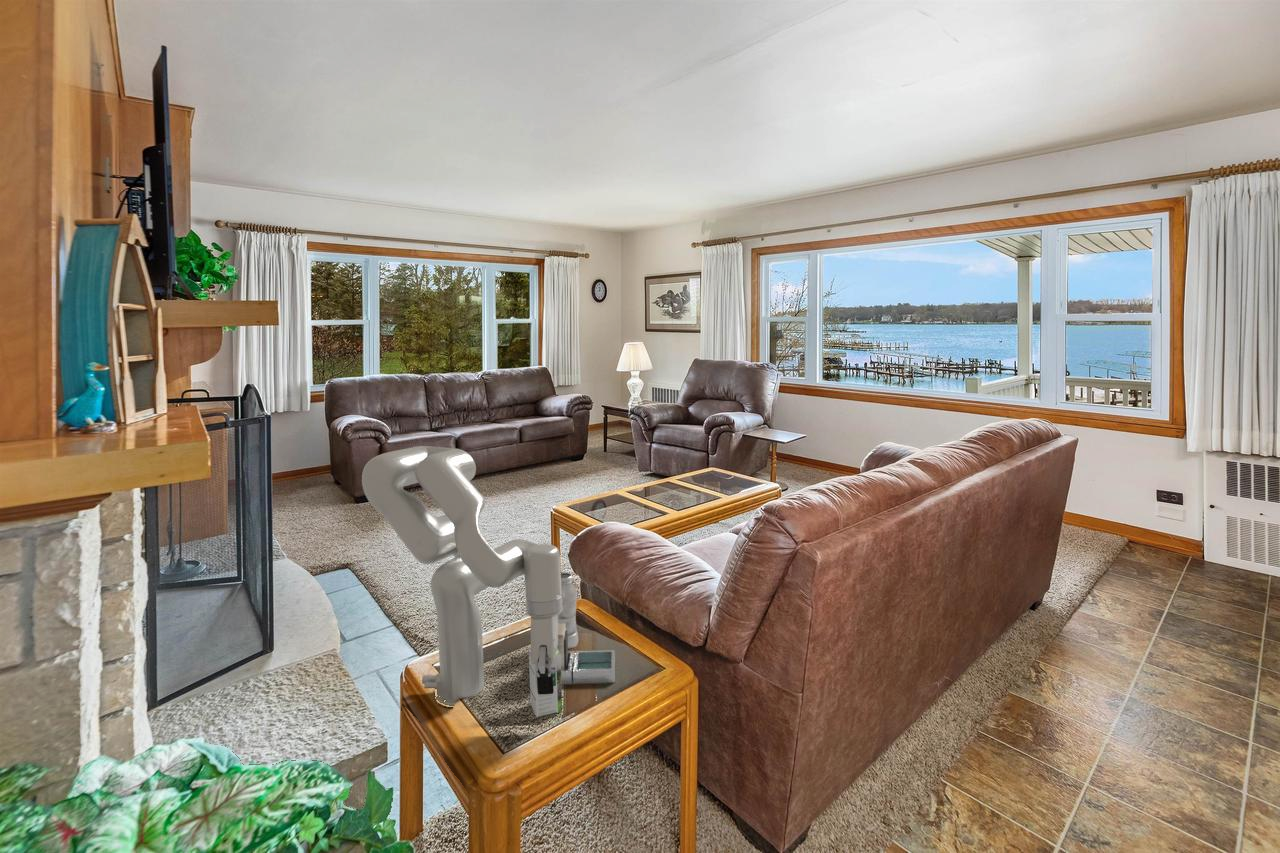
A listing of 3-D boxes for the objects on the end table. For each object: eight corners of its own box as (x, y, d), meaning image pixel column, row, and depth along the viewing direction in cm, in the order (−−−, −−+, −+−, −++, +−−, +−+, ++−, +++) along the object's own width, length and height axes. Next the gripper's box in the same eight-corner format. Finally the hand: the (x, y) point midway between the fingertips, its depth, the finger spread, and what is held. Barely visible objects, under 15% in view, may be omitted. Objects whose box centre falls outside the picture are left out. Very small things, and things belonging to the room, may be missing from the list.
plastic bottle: (580, 643, 164) (579, 571, 162) (575, 655, 157) (574, 580, 155) (557, 642, 165) (555, 570, 162) (551, 654, 158) (549, 579, 155)
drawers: (528, 691, 141) (528, 672, 140) (534, 669, 151) (534, 651, 150) (615, 688, 142) (615, 670, 141) (615, 666, 152) (615, 649, 151)
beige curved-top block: (538, 680, 143) (537, 635, 141) (541, 667, 149) (540, 624, 147) (566, 679, 143) (565, 634, 142) (568, 666, 149) (567, 623, 148)
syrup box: (536, 724, 128) (534, 659, 127) (530, 709, 134) (528, 646, 132) (562, 718, 130) (561, 653, 129) (555, 703, 136) (554, 641, 134)
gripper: (531, 589, 137) (535, 662, 139) (519, 622, 120) (524, 704, 122) (565, 588, 138) (569, 660, 140) (558, 620, 121) (562, 702, 122)
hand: (548, 681), depth 131 cm, fingers open, 9 cm apart
